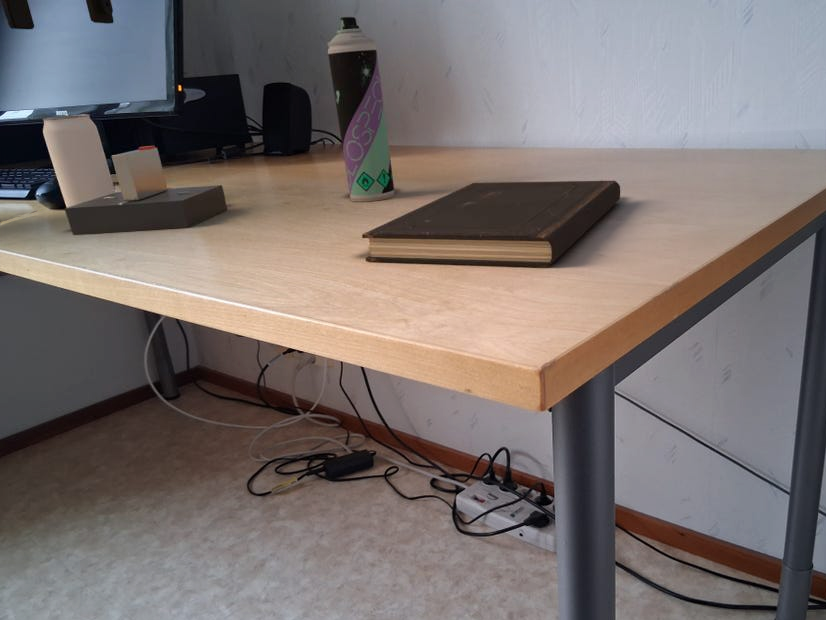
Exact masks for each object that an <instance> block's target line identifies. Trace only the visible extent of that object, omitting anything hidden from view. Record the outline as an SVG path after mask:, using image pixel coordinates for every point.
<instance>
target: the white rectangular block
mask: <svg viewBox="0 0 826 620" xmlns="http://www.w3.org/2000/svg"><path fill="white" fill-rule="evenodd" d="M111 159H112V163H113V166H114V170H115V174H116V177H117V181H118V184H119V189H120V192H122V196H123V199H124V201H136V200H141V199H144V198H147V197H150V196H152V195H155V194H158V193H161V192H164V191H167V190H168V189H167V187H168V185H167V182H166V178H165V174H164V169H163V165H162V161H161V158H160V154H159V150H158V147H156V146H155V145H147V146H145V145H144V146H139V147H138V149H135V150H130V151H126V152H122V153H118V154H113V155H111Z"/></svg>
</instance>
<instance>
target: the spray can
mask: <svg viewBox="0 0 826 620" xmlns="http://www.w3.org/2000/svg"><path fill="white" fill-rule="evenodd" d="M339 20H340V26H339V30H337V31H336V35H335V36H334V37H333V38H332V39H331V40H330V41H329V42H327V46H328V50H327V55H328V61H329V68H330V74H331V75H330V76H331V81H332V88H333V95H334V101H335V102H334V103H335V108H336V115H337V120H338V127H339V134H340V135H339V136H340V141H341V146H342V147H341V148H342V153H343V154H342V155H343V160H344V166H345V167H344V168H345V173H346V180H347V187H348V192H349V193H348V194H349V197H350V201H352V202H358V203H360V202H361V203H365V202H375V201H376V202H377V201H383V200H386V199H391V198H394V197H395V195H396V193H395V185H394V179H393V178H394V176H393V170H392V162H391V154H390V153H391V152H390V145H389V137H388V130H387V129H388V128H387V123H386V114H385V107H384V98H383V91H382V83H381V74H380V68H379V67H380V66H379V58H378V51H377V46H376V45H375V39H374V38H371V37H370V36H368V35H367V34H365V33H363V29H362V28H360V26H359V25H358V24H357V19H356V17H354V16H344V17H340V19H339Z"/></svg>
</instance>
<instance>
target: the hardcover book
mask: <svg viewBox="0 0 826 620" xmlns="http://www.w3.org/2000/svg"><path fill="white" fill-rule="evenodd" d="M620 199H621V186H620V183H618V181H616V180H569V181H568V180H567V181H566V180H564V181H563V180H562V181H560V180H559V181H556V180H555V181H505V182H504V181H501V182H500V181H498V182H497V181H496V182H495V181H493V182H472V183H470V184H468V185H466V186H465V185H464V186H463V187H461V188H459V189H456V190H455V191H452V192H451V193H448V194H446V195H444V196H442V197H439V198H438V199H435V200H433V201H431V202H428V203H427V204H424V205H422V206H420V207H418V208H416V209H414V210H412V211H409V212H407V213H405V214H403V215H401V216H398V217H396V218H395V219H392V220H390V221H388V222H386V223H383V224H381V225H379V226H377V227H375V228H372V229H370V230H368V231H366V232H364V233H362V234H361V238H362V239H368V243H369V244H368V250H369V252H370V255H369V256H366V257H365V262H368V263H370V262H371V263H395V264H396V263H400V264H401V263H402V264H427V265H429V264H431V265H461V266H491V267H516V268H517V267H519V268H548V267H550V266H551V265H552V264H553V263H554V262H555V261H557V260H558V259H559V258H560V257H561V256H562V255H563V253H565V252H566V251H567V250H568V249H569V248H570V247H571V246H573V244H574V243H576V242H577V241H578V240H579V239H580V238H581V237H582V236H583V235H585V233H586V232H587V231H588V230H589V229H590V228H592V226H594V224H596V223H597V222H598V221H599V220H600V219H601V218H602V217H604V215H605V214H606V213H608V212H609V210H611V209H612V208H613V206H615V205H616V204H617V203H618V202H619V201H620Z"/></svg>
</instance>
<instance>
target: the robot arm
mask: <svg viewBox="0 0 826 620" xmlns="http://www.w3.org/2000/svg"><path fill="white" fill-rule="evenodd" d="M0 2H1V5H2V9H3V12H4V16H5V19H6V20H7V24H8V26H9V28H10V29H12V30H33V29H34V28H35V23H34V20H33V17H32V12H31V9H30V5H29V2H28V0H0ZM85 3H86V6H87V7H86V8H87V10H88V15H89V19H90V21H91V22H92V23H96V24H109V25H110V24H114V17H113V16H114V15H113V13H114V8H113V5H112V4H113V3H112V1H111V0H85Z"/></svg>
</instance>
